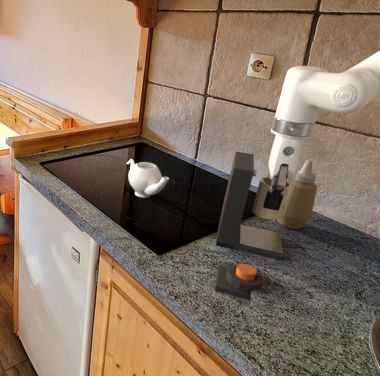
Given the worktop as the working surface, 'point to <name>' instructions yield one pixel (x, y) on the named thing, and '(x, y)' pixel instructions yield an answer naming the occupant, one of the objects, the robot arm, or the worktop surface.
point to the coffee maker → (233, 211)
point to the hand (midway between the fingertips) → (270, 201)
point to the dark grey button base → (236, 282)
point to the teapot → (146, 179)
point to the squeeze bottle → (300, 199)
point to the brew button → (246, 272)
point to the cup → (260, 198)
